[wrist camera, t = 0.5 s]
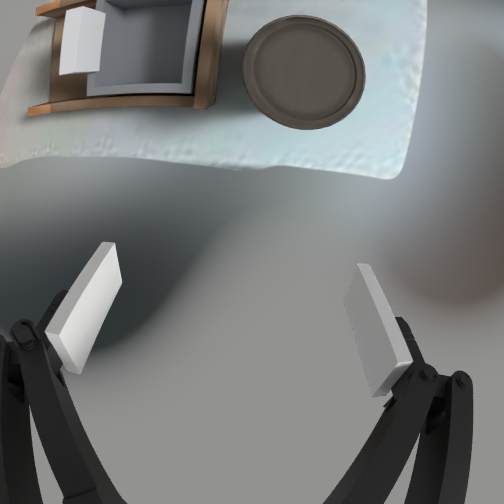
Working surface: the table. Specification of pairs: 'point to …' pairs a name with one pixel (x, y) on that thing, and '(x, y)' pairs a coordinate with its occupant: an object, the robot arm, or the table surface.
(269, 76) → the coffee can
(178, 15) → the box
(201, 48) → the bay
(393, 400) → the robot arm
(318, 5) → the table surface
